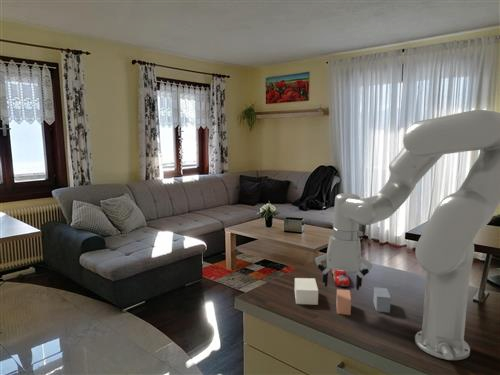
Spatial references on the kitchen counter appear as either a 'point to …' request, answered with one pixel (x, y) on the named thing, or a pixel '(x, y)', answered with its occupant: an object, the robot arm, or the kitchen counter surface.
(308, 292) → the cream brick
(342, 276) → the race car
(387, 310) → the slate brick
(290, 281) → the kitchen counter surface
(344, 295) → the terracotta brick
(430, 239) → the robot arm
